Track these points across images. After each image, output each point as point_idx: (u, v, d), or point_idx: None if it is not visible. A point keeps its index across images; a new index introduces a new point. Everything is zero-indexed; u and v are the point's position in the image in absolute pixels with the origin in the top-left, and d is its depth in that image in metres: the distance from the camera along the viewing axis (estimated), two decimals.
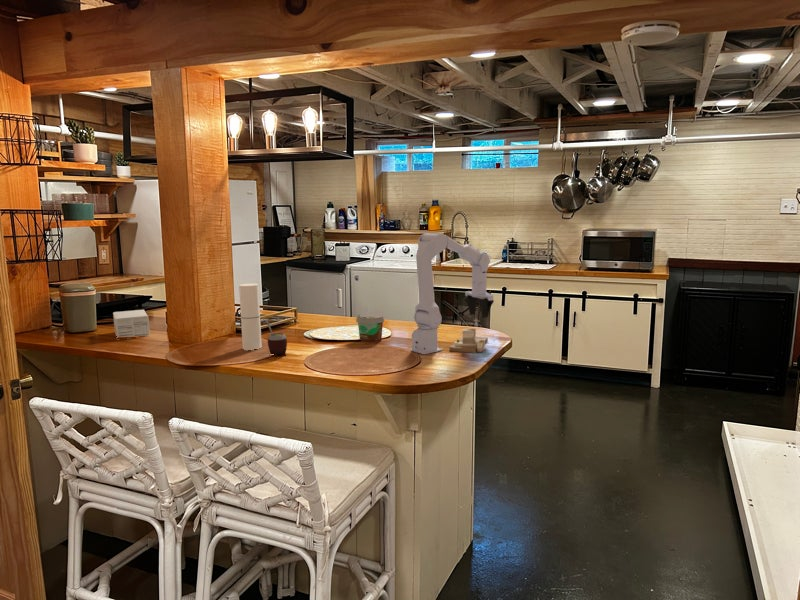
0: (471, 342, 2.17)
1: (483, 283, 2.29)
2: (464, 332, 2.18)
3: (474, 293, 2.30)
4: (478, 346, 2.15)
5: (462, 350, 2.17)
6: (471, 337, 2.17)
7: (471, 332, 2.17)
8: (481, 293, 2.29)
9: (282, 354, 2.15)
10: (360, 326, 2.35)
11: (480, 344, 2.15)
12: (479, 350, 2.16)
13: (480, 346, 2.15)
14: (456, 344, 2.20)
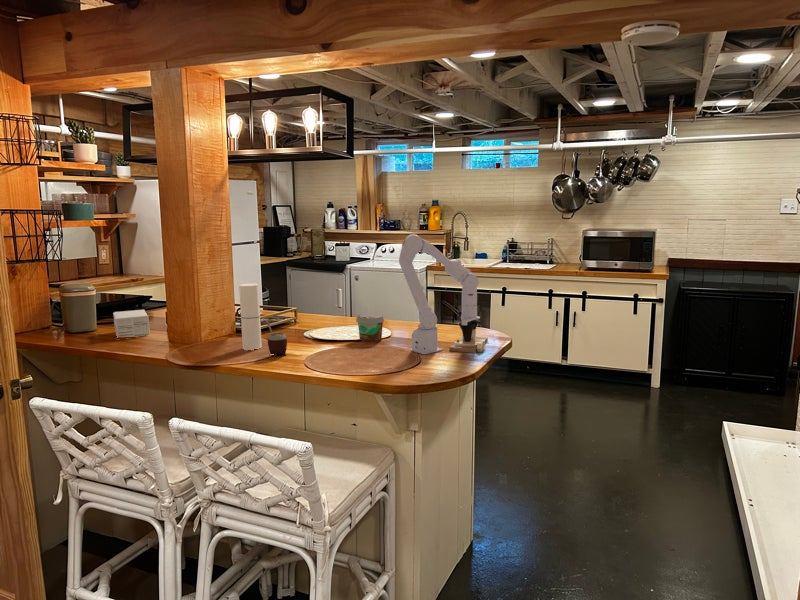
0: (471, 342, 2.17)
1: (466, 306, 2.15)
2: None
3: None
4: (478, 346, 2.15)
5: (462, 350, 2.17)
6: (471, 337, 2.17)
7: None
8: (464, 316, 2.16)
9: (282, 354, 2.15)
10: (360, 326, 2.35)
11: (480, 344, 2.15)
12: (479, 350, 2.16)
13: (480, 346, 2.15)
14: (456, 344, 2.20)
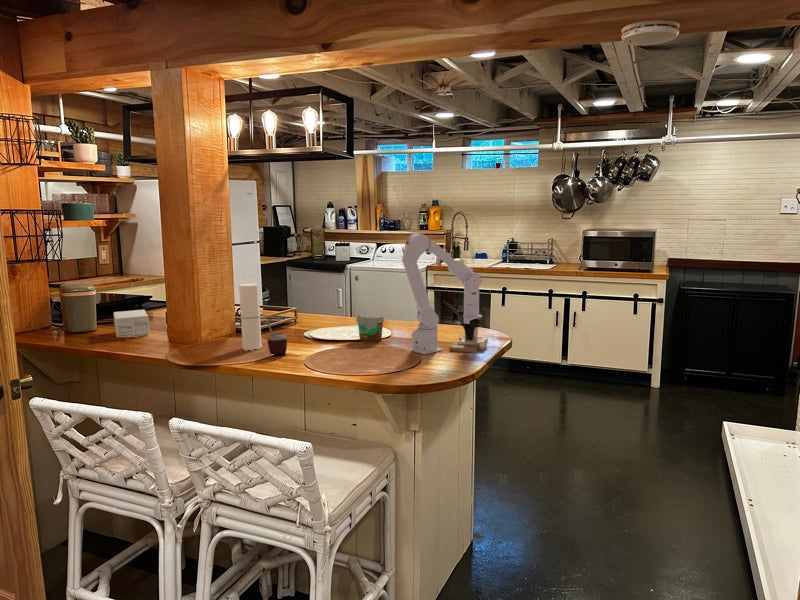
0: (473, 340, 2.20)
1: (468, 305, 2.18)
2: None
3: None
4: (480, 344, 2.18)
5: (462, 350, 2.17)
6: (473, 335, 2.20)
7: None
8: (466, 315, 2.19)
9: (282, 354, 2.15)
10: (360, 326, 2.35)
11: (482, 342, 2.18)
12: (481, 348, 2.18)
13: (482, 344, 2.18)
14: (458, 342, 2.22)
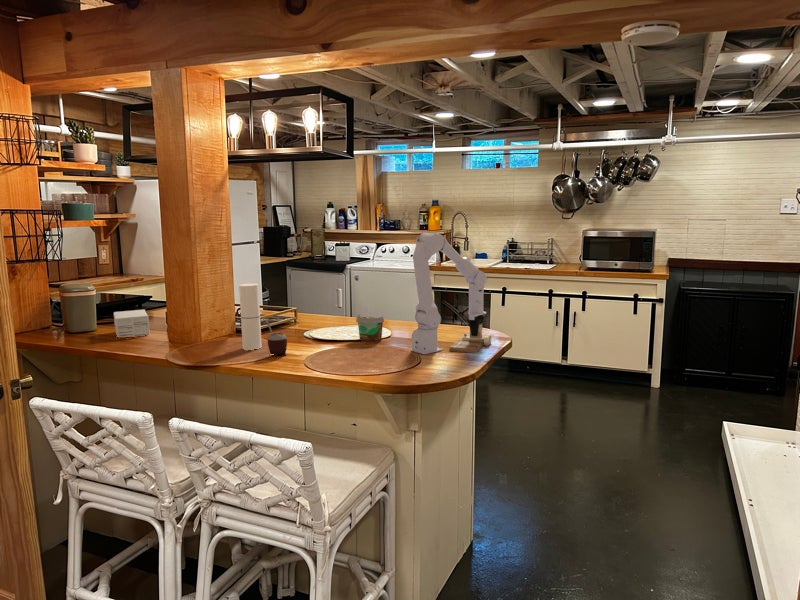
0: (478, 336, 2.27)
1: (473, 302, 2.24)
2: None
3: None
4: (485, 340, 2.25)
5: (462, 350, 2.17)
6: (478, 331, 2.26)
7: None
8: (471, 311, 2.26)
9: (282, 354, 2.15)
10: (360, 326, 2.35)
11: (487, 338, 2.25)
12: (486, 344, 2.25)
13: (487, 340, 2.25)
14: (463, 338, 2.29)
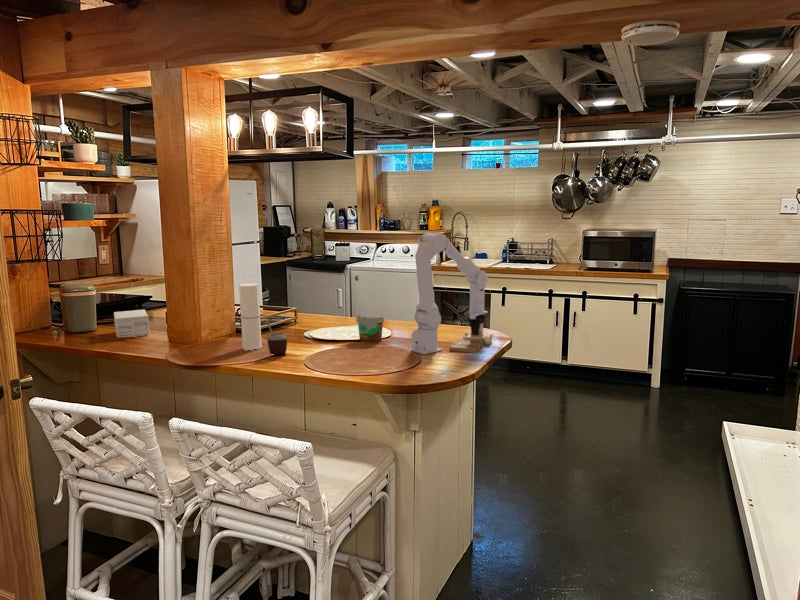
0: (479, 335, 2.28)
1: (474, 301, 2.26)
2: None
3: None
4: (486, 339, 2.26)
5: (462, 350, 2.17)
6: (479, 330, 2.28)
7: None
8: (472, 311, 2.27)
9: (282, 354, 2.15)
10: (360, 326, 2.35)
11: (487, 337, 2.26)
12: (486, 343, 2.27)
13: (487, 339, 2.26)
14: (464, 337, 2.31)
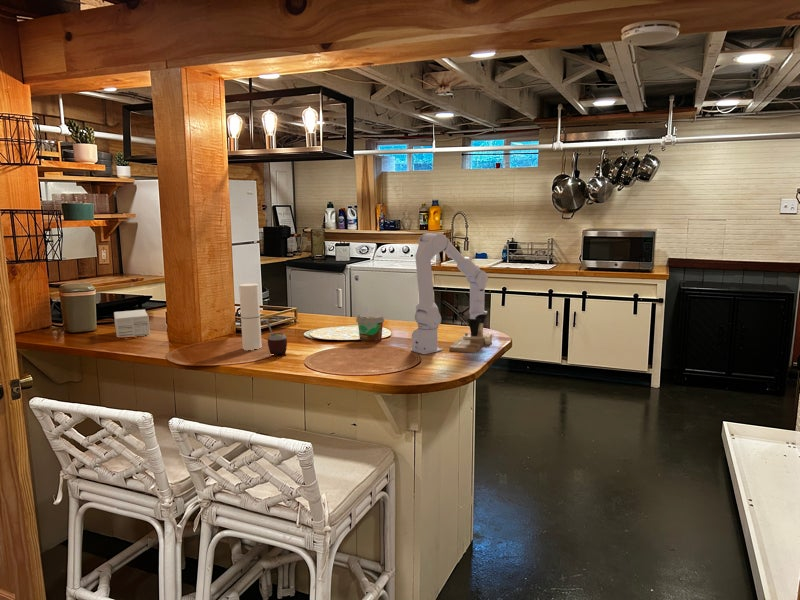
0: (479, 335, 2.28)
1: (474, 301, 2.26)
2: None
3: None
4: (486, 339, 2.27)
5: (462, 350, 2.17)
6: (479, 330, 2.28)
7: (479, 326, 2.28)
8: (472, 311, 2.27)
9: (282, 354, 2.15)
10: (360, 326, 2.35)
11: (487, 337, 2.26)
12: (487, 343, 2.27)
13: (487, 339, 2.26)
14: (464, 337, 2.31)
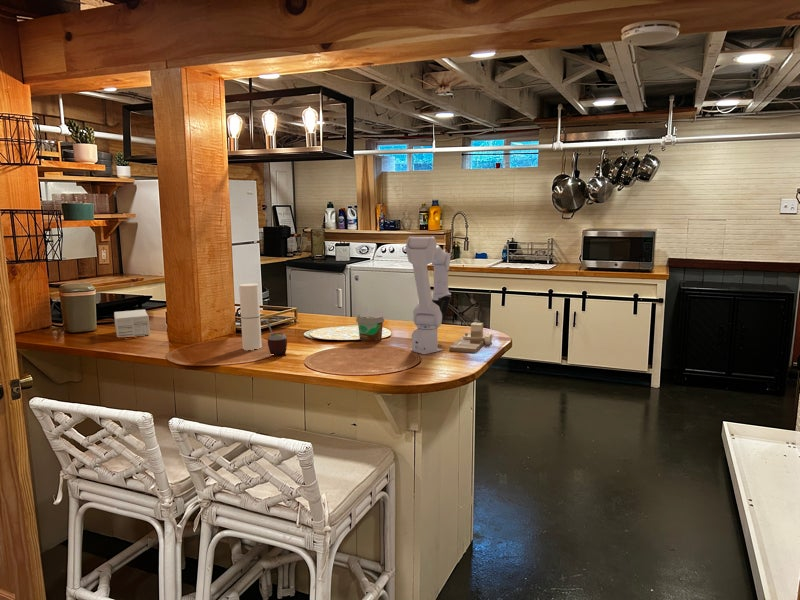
0: (479, 335, 2.28)
1: (438, 283, 2.29)
2: (472, 326, 2.29)
3: None
4: (486, 339, 2.27)
5: (462, 350, 2.17)
6: (479, 330, 2.28)
7: (479, 326, 2.28)
8: (436, 292, 2.30)
9: (282, 354, 2.15)
10: (360, 326, 2.35)
11: (487, 337, 2.26)
12: (487, 343, 2.27)
13: (487, 339, 2.26)
14: (464, 337, 2.31)
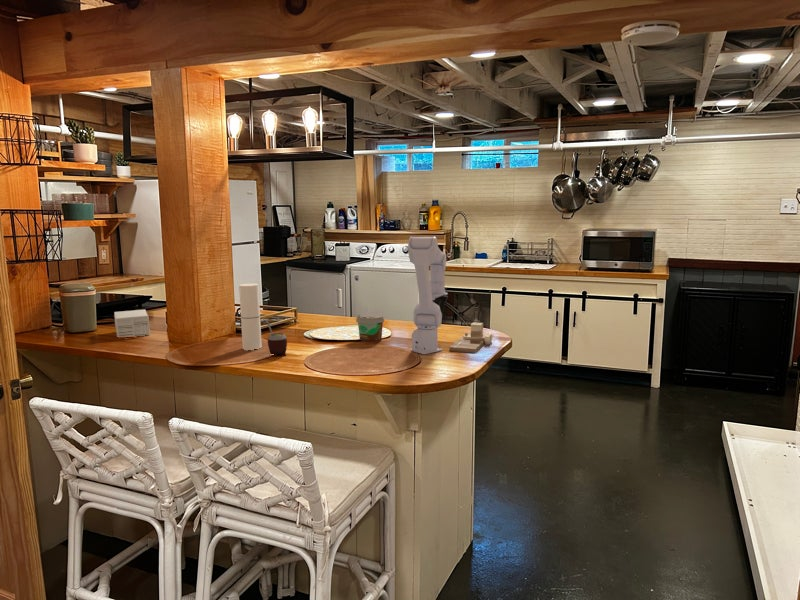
0: (479, 335, 2.28)
1: (434, 282, 2.30)
2: (472, 326, 2.29)
3: None
4: (486, 339, 2.27)
5: (462, 350, 2.17)
6: (479, 330, 2.28)
7: (479, 326, 2.28)
8: (432, 292, 2.31)
9: (282, 354, 2.15)
10: (360, 326, 2.35)
11: (487, 337, 2.26)
12: (487, 343, 2.27)
13: (487, 339, 2.26)
14: (464, 337, 2.31)
